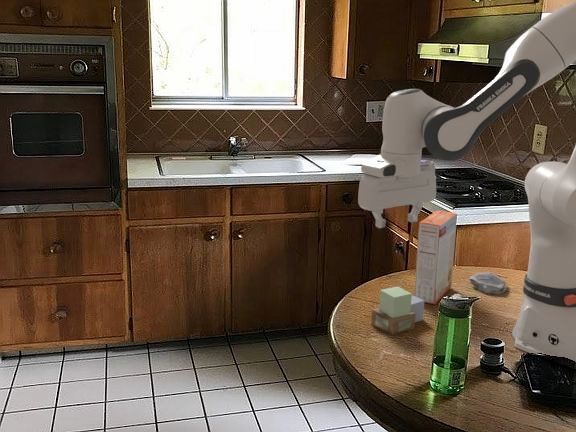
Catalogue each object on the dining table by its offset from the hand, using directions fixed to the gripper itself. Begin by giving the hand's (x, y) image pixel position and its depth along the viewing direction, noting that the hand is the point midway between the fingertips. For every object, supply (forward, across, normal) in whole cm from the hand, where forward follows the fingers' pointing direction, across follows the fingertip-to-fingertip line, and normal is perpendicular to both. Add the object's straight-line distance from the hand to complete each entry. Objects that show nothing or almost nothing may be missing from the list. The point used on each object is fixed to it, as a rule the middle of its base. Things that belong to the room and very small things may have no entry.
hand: (396, 224), depth 147 cm
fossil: (+24, -37, -4) cm, 45 cm away
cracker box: (+24, -20, -7) cm, 32 cm away
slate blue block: (+24, -4, +1) cm, 24 cm away
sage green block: (+20, +2, +3) cm, 20 cm away
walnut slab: (+24, +2, +3) cm, 24 cm away
